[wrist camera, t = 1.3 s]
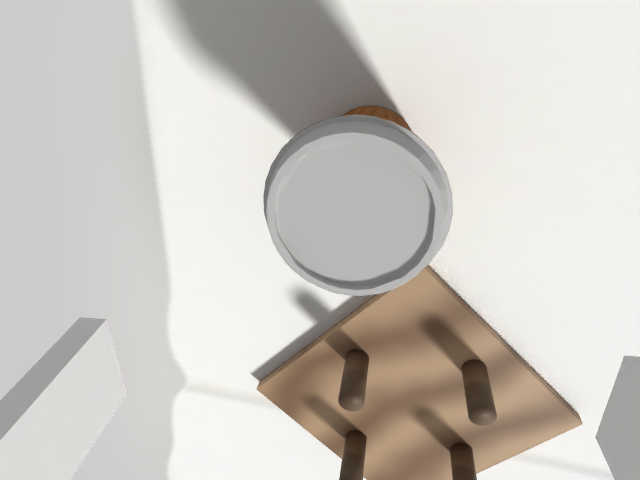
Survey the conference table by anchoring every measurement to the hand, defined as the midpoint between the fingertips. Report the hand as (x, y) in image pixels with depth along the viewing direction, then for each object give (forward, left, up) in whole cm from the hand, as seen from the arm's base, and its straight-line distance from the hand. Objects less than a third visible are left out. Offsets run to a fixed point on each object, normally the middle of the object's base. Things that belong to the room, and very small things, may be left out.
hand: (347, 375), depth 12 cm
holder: (-19, +14, -23) cm, 33 cm away
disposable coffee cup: (0, +1, -23) cm, 24 cm away
